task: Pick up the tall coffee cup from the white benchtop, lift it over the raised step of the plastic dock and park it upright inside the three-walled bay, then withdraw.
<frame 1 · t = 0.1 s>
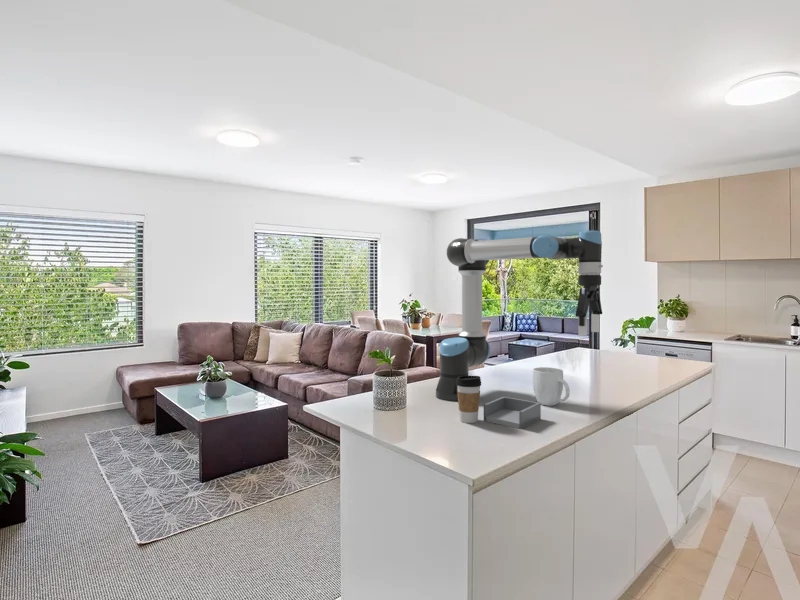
hand: (589, 333, 165), 28 cm above the countertop, fingers open, 13 cm apart
mug: (549, 404, 175), on the countertop
dock: (512, 419, 156), on the countertop
coffee cup: (468, 421, 155), on the countertop
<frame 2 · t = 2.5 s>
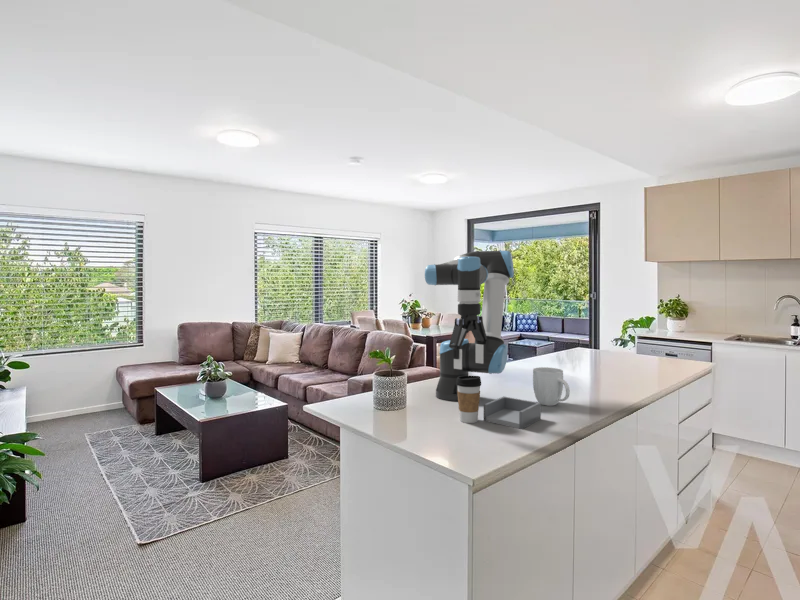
hand: (469, 366, 154), 19 cm above the countertop, fingers open, 13 cm apart
nothing on the countertop moved.
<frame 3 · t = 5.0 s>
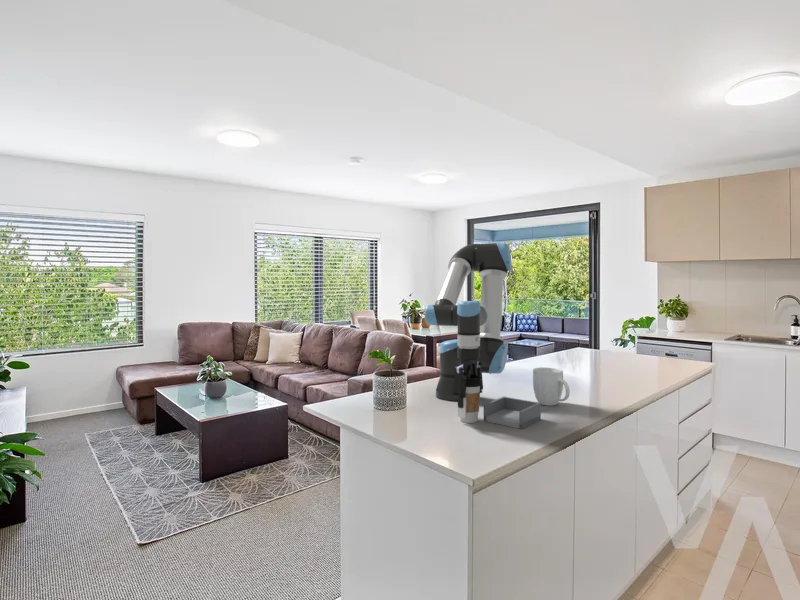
hand: (468, 414, 155), 2 cm above the countertop, fingers closed on coffee cup, 7 cm apart
coffee cup: (468, 421, 155), on the countertop, touching gripper
everything else where it was.
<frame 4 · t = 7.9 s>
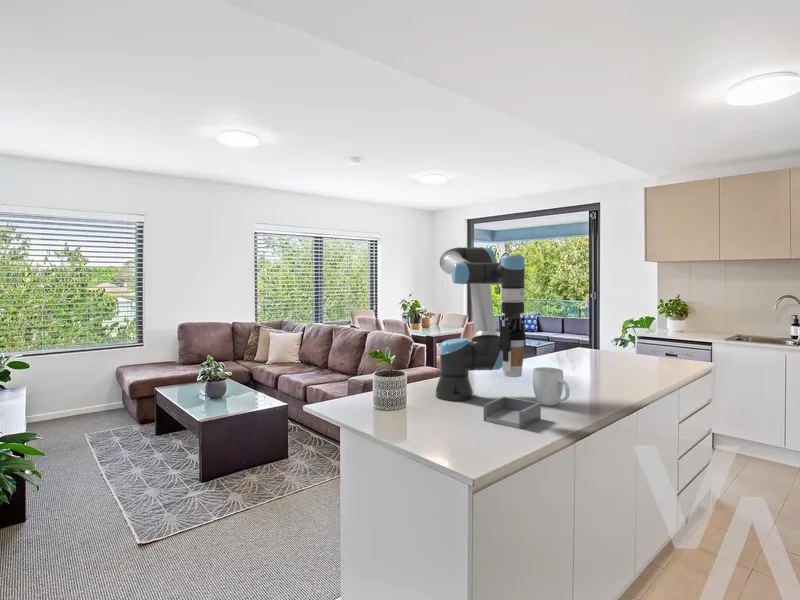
hand: (512, 368, 155), 17 cm above the countertop, fingers closed on coffee cup, 7 cm apart
coffee cup: (512, 375, 155), point 15 cm above the countertop, touching gripper
everything else where it was.
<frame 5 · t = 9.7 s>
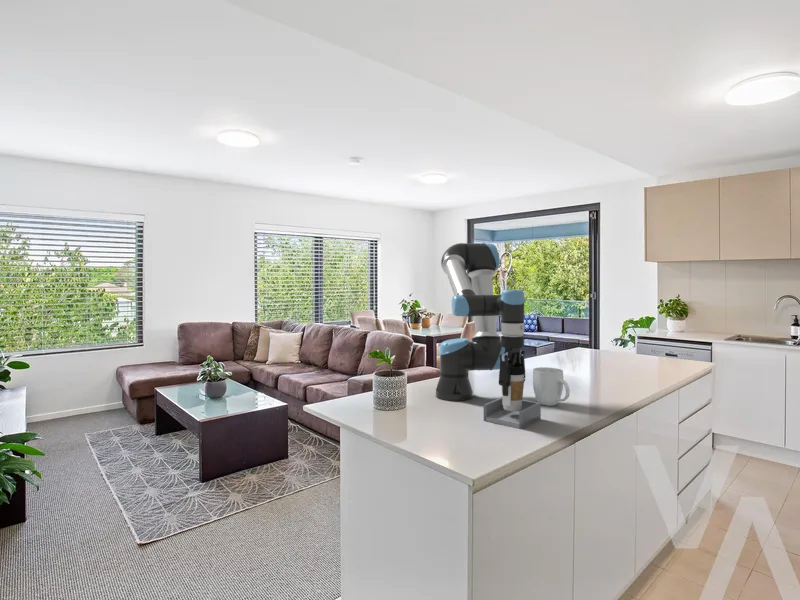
hand: (512, 402, 155), 6 cm above the countertop, fingers closed on coffee cup, 7 cm apart
coffee cup: (512, 409, 155), point 4 cm above the countertop, touching gripper
everything else where it was.
when the fingers open (5 cm above the countertop, at t = 10.8 s): coffee cup drops 1 cm, resting on dock.
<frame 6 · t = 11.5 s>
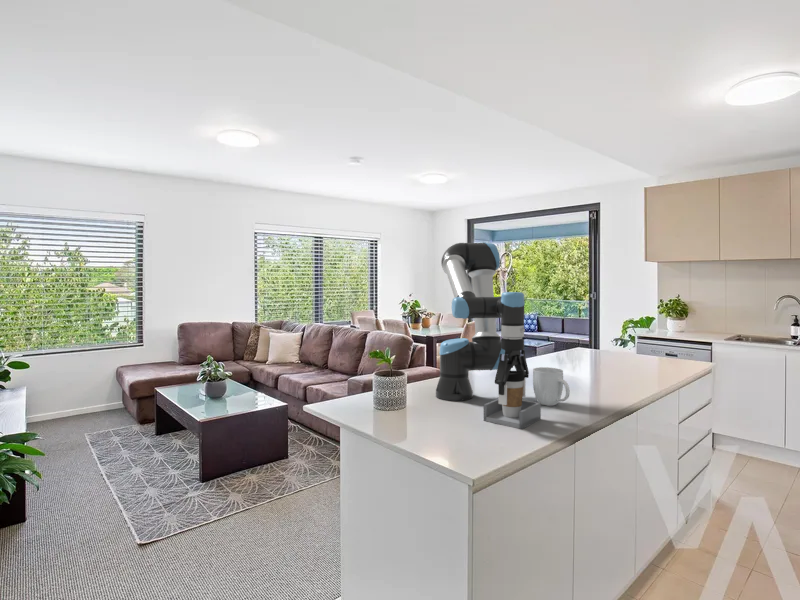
hand: (512, 400, 155), 7 cm above the countertop, fingers open, 13 cm apart
coffee cup: (511, 415, 156), point 1 cm above the countertop, touching dock
everything else where it was.
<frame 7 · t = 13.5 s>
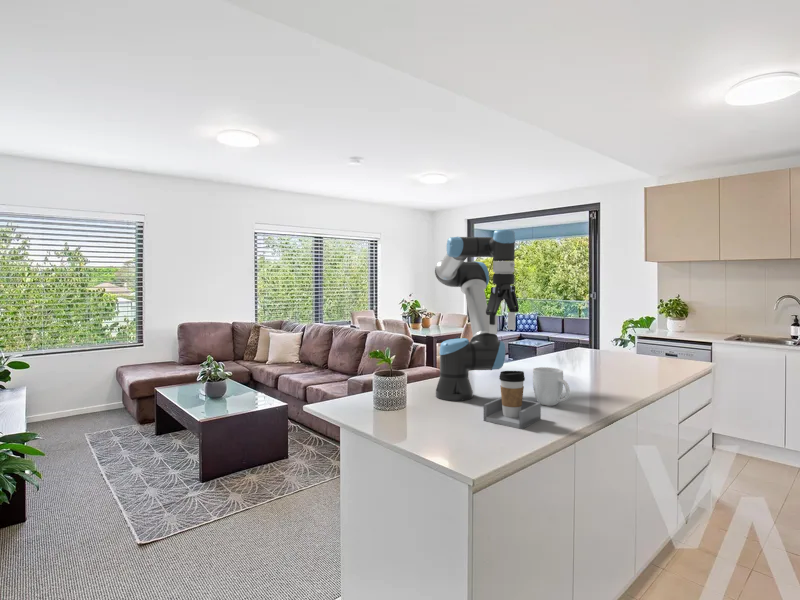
hand: (502, 331, 167), 29 cm above the countertop, fingers open, 13 cm apart
nothing on the countertop moved.
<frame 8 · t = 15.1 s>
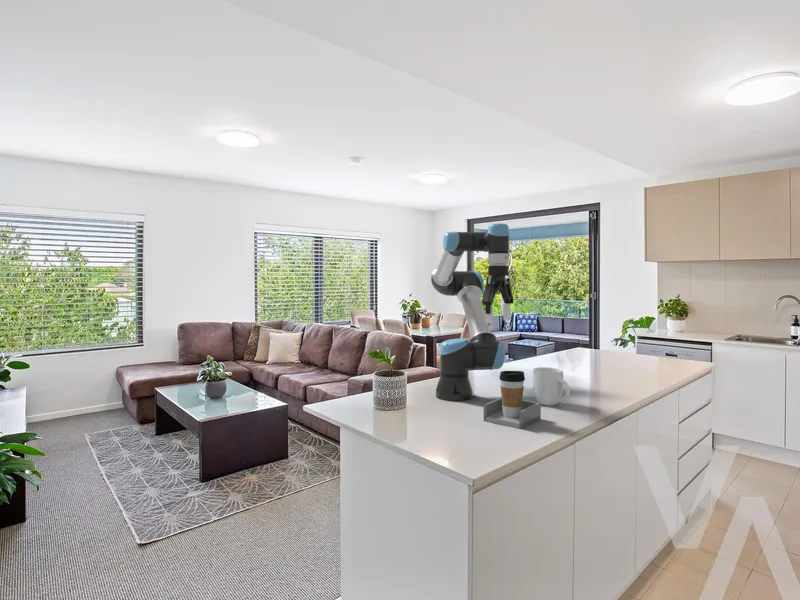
hand: (498, 321, 173), 32 cm above the countertop, fingers open, 13 cm apart
nothing on the countertop moved.
at the end: coffee cup inside the target area on the dock (0.1 cm from its centre), point 1.3 cm above the dock's base; coffee cup tilted 0°; the gripper is holding nothing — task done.
